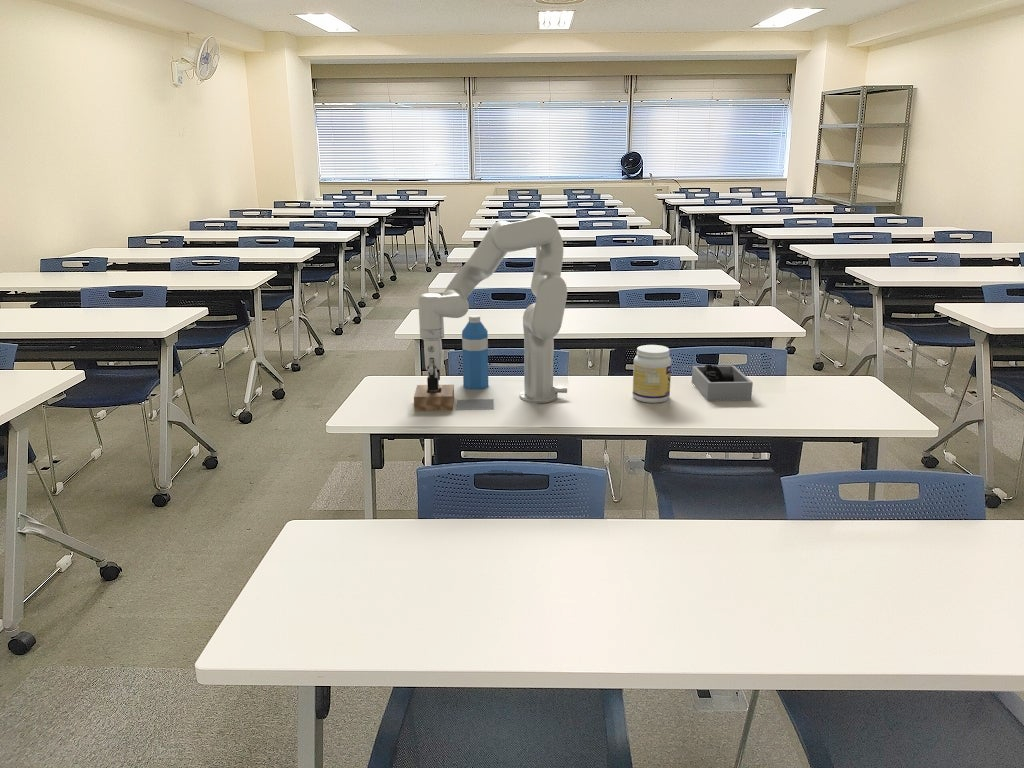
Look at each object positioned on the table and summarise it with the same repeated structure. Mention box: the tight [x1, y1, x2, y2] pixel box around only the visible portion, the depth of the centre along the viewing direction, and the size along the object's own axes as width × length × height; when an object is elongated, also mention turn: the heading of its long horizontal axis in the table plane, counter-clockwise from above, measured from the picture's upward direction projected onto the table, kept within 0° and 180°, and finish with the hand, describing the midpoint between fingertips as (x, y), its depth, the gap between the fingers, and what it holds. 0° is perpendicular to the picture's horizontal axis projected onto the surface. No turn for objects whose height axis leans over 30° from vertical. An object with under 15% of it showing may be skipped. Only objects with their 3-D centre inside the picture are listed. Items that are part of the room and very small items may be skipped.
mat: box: [455, 398, 495, 411], centre depth 239 cm, size 12×10×1 cm
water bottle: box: [461, 314, 489, 390], centre depth 254 cm, size 9×9×25 cm
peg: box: [430, 371, 440, 393], centre depth 237 cm, size 3×3×11 cm
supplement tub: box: [632, 344, 672, 404], centre depth 242 cm, size 12×12×17 cm
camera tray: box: [691, 365, 754, 402], centre depth 250 cm, size 14×20×6 cm
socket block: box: [413, 384, 455, 412], centre depth 238 cm, size 12×12×5 cm
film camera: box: [703, 364, 734, 382], centre depth 250 cm, size 15×10×9 cm, turn 173°
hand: (434, 384), depth 237 cm, fingers open, 9 cm apart
